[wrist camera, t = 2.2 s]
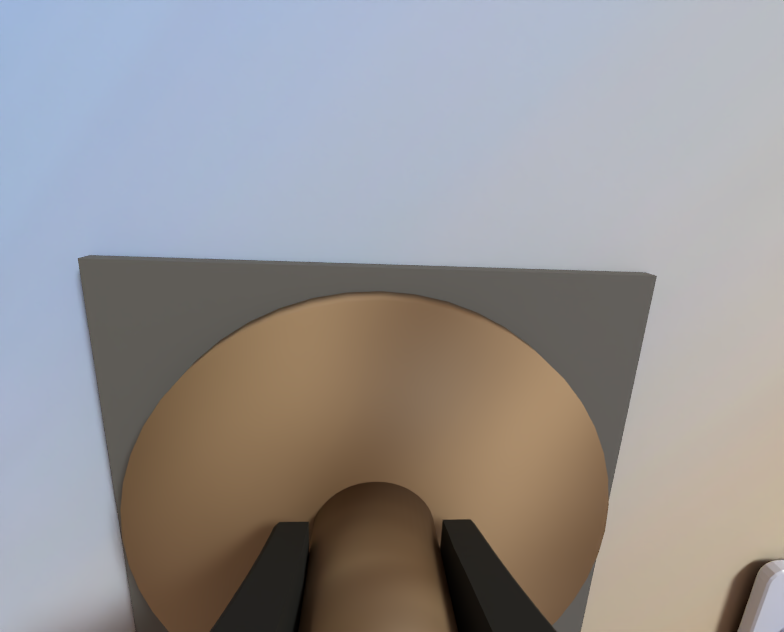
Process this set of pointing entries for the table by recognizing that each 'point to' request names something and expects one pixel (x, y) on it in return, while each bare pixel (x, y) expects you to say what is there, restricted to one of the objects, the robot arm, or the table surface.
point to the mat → (316, 279)
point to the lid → (363, 465)
